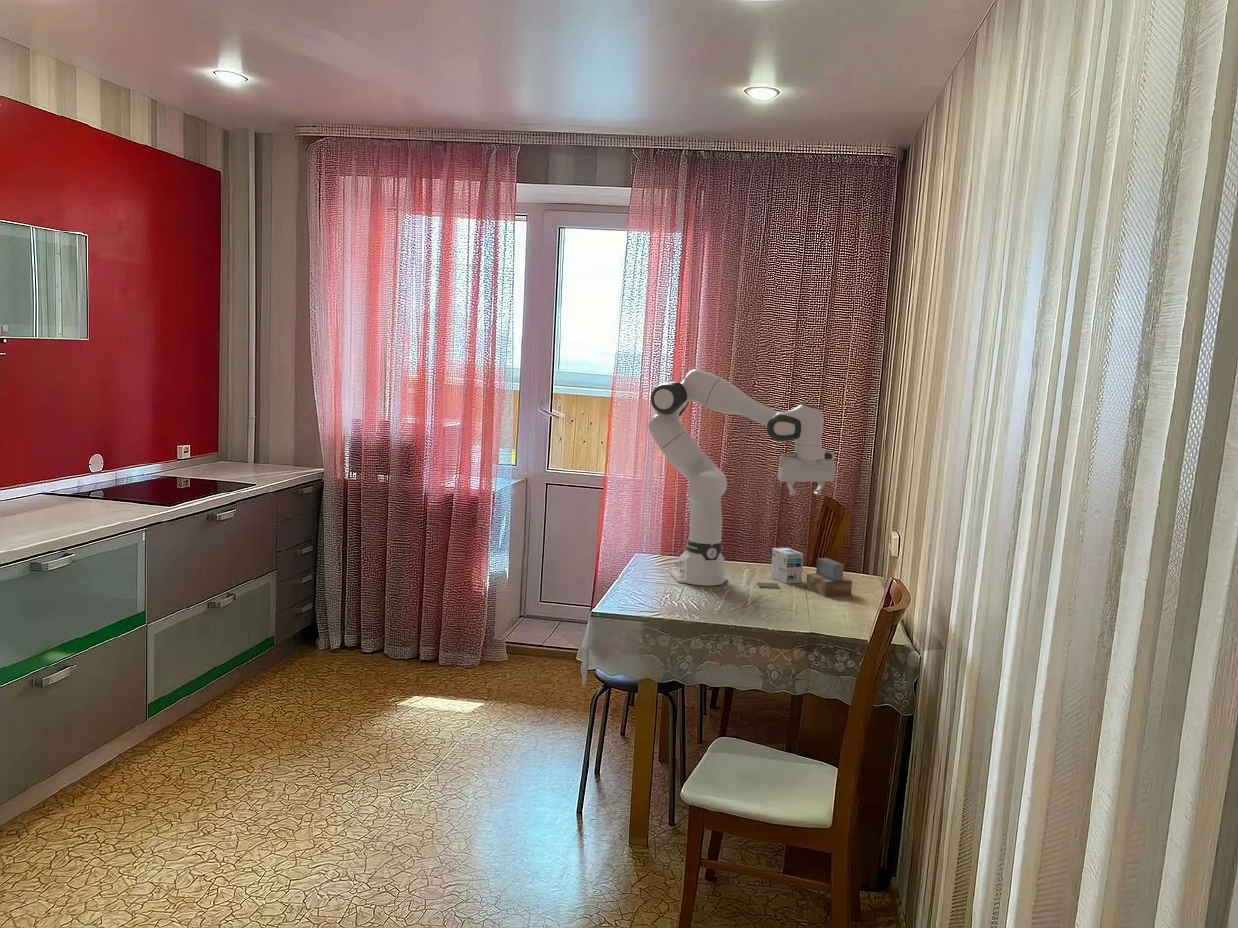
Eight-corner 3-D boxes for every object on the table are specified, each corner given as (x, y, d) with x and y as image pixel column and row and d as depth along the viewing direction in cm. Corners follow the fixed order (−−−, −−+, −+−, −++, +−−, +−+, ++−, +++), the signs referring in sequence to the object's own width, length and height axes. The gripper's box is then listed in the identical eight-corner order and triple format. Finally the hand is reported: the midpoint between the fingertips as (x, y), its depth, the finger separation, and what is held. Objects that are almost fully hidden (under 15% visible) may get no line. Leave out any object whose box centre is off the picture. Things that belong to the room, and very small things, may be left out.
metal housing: (832, 581, 309) (833, 564, 308) (816, 574, 318) (817, 558, 318) (842, 580, 310) (843, 564, 310) (826, 573, 320) (827, 558, 319)
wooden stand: (806, 588, 319) (807, 573, 318) (831, 586, 322) (832, 572, 322) (825, 596, 308) (826, 582, 307) (851, 595, 311) (852, 580, 310)
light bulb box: (802, 583, 326) (804, 553, 325) (785, 584, 323) (787, 553, 322) (785, 576, 336) (787, 546, 335) (769, 577, 333) (771, 547, 332)
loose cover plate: (756, 585, 322) (756, 582, 322) (776, 586, 322) (776, 583, 322) (759, 589, 316) (759, 586, 316) (779, 590, 316) (779, 587, 316)
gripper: (784, 454, 300) (782, 496, 302) (839, 454, 307) (836, 496, 309) (775, 452, 306) (772, 493, 308) (828, 452, 313) (826, 493, 315)
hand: (805, 494), depth 308 cm, fingers open, 8 cm apart
